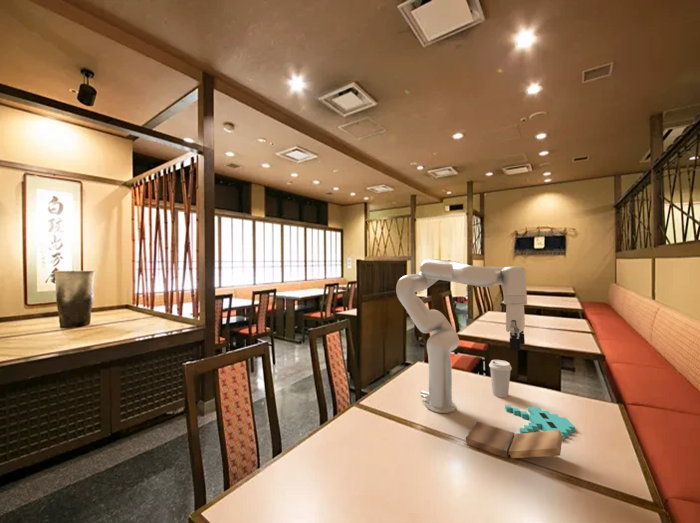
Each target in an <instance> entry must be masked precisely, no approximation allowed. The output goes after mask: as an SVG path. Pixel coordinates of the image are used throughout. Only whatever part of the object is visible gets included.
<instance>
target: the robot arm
mask: <svg viewBox="0 0 700 523" xmlns="http://www.w3.org/2000/svg"><path fill="white" fill-rule="evenodd" d="M526 275H527V274H526V269H525V267H524V266H520V265H519V266H517V265H514V266H512V265H511V266H505V267H504V266H495V265H494V266H493V265H492V266H482V265H469V264H464V263H461V262H460V261H453V260H442V259H437V258H434V259H433V258H429V259H425V260H423V261H422V262H421V263H420V266H419V272H418V273H413V274H412V273H411V274H406V275H402V277H400V278H399V279H398V280H397V283H396V286H395V290H396V292H395V293H396V296H397V299H398V301H399V302H400V303H401V305H402V306H403V307H404V308H403V309H405V310H406V312H407V314H408V315H409V317H410V319H411V320H412V322H413V323H414V325H415V326H416V328H417V330H419V331H420V332H421V333H422V334H429V333H433V334H431V336H429V337H428V339H427V341H426V352H427V357H428V391H424V390H421V391H420V397H421V398H423V399H425V402H424V405H425V407H426V408H427V409H428V410H430V411H432V412H434V413H438V414H450V413H453V412H454V411H455V410H456V409H457V408H456V407H457V406H456V404H455V403H456V402H454V401H453V400H452V398H453V397H452V395H453V392H452V388H453V387H452V385H453V384H452V383H453V382H452V380H453V379H452V376H453V374H452V373H453V372H452V371H453V370H452V368H453V367H452V365H453V364H452V358H451V352H453V351H455V350H456V349H458V347H459V345H460V338H459V335H458V333H457V331H456V330H455V329H454V327H453V325H451V323H450V322H449V321H448V319H447V317H446V316H445V315H444V314H443V313H442V312H441V311H439V310H437V309H432V308H431V309H429V308H428V307H427V306H426V304H425V303H424V301H423V300H422V298H420V297H419V296H418V295H417V294H416V293H419V292H420V293H421V292H423V291H426V290H427V289H428V288H430V287H431V286H433V285H434V284H435V283H436V282H438V281H439V280H440V281H446V282H453V283H455V284H463V285H469V286H474V287H482V288H492V287H494V286H495V287H497V286H500V285H501V286H502V292H503V304H504V305H506V306H505V330H506V332H507V333H508V332H509V349H510V350H512V351H517V352H519V351H521V345H525V332H524V330H525V328H526V326H525V324H526V322H525V320H526V318H525V317H526V316H525V305H528V295H527V276H526Z"/></svg>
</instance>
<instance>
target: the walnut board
mask: <svg viewBox="0 0 700 523" xmlns="http://www.w3.org/2000/svg"><path fill="white" fill-rule="evenodd" d="M515 434H516V433H515V432H513V431H509V430H506V429H502V428H499V427H497V426H493V425H490V424H487V423H483V422H481V421H478V420H476V422H475V423H474V425H473V426H472V428H471V429H470V431H469V432H468V434H467V435H466V437H465V439H466V440H465V443H467V445H469V446H472V447H475V448H478V449H480V450H483V451H485V452H488V453H491V454H493V455H496V454H497V455H496V456H499V455H500V456H499V457H502V458H505V459H508V457H509V456H510V454H509V452H508V451H509V449H510V446H511V444H512V441H513V439H514V436H515Z"/></svg>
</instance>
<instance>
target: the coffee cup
mask: <svg viewBox="0 0 700 523" xmlns="http://www.w3.org/2000/svg"><path fill="white" fill-rule="evenodd" d="M488 366H489V368H490V369H489V370H490V378H491V389H492V390H491V391H492V392H491V393H492V395H493V396H495V397H498V398H501V399H504V398H505V399H506V398H508V397H509V391H510V380H511V379H510V378H511V371H512V369H513V367H512V366H511V364H510V362H508V361H506V360H501V359H492V360H491V361H490V363H489V364H488Z"/></svg>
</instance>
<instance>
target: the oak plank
mask: <svg viewBox="0 0 700 523" xmlns="http://www.w3.org/2000/svg"><path fill="white" fill-rule="evenodd" d="M562 437H563V436H562V434H561V432H560V430H552V431H543V430H541V431H533V432H531V433H521V434H520V433H515V436H514V439H513V441H512V444H511V446H510V449H509V451H508V452H509V456H510V458H511V459H519V458H520V459H522V458H536V457H537V458H539V457H557V456H558V457H559V456H561V451H562V444H563V440H562Z"/></svg>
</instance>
